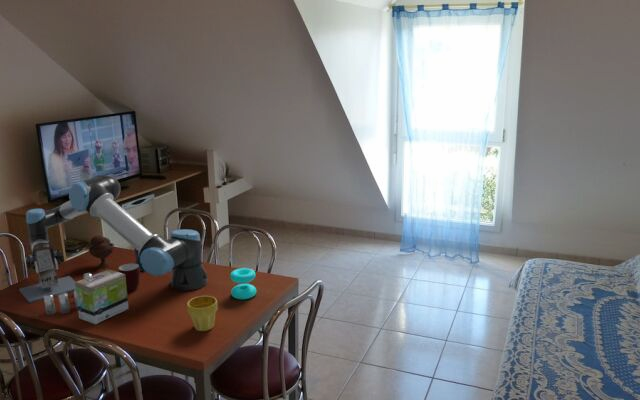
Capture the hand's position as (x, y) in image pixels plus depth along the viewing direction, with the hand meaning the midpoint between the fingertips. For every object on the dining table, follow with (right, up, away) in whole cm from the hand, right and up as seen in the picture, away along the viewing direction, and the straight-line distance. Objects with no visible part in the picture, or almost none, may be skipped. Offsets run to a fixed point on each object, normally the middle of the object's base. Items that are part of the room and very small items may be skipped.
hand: (47, 268), depth 230 cm
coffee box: (-2, -7, +7) cm, 10 cm away
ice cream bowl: (+11, -3, +32) cm, 34 cm away
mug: (+31, -10, +5) cm, 33 cm away
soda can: (+30, -4, +29) cm, 42 cm away
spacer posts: (+12, -13, -4) cm, 18 cm away
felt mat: (-2, -10, +8) cm, 13 cm away
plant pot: (+68, -18, -25) cm, 75 cm away
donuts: (+79, -11, 0) cm, 80 cm away
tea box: (+28, -16, -14) cm, 36 cm away
